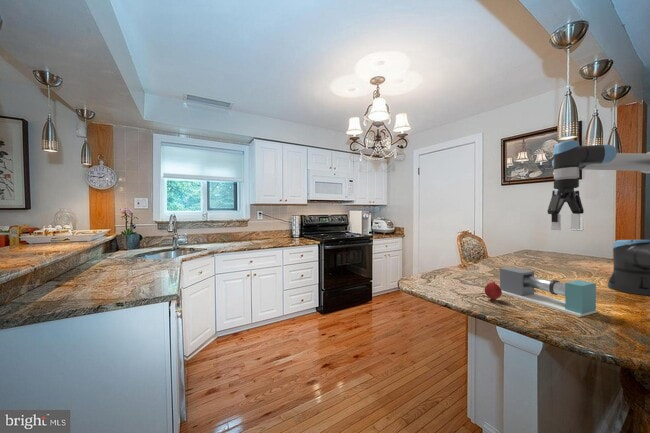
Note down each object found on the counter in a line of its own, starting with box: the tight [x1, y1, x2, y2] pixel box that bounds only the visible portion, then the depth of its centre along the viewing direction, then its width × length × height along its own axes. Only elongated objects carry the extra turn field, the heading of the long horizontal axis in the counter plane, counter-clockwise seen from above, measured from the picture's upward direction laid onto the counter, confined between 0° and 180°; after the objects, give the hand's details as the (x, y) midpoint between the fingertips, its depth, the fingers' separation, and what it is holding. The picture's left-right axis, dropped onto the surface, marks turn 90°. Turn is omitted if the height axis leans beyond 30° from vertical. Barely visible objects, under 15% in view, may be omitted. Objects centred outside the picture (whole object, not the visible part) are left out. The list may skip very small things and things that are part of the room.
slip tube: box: [524, 275, 566, 297], centre depth 95 cm, size 19×6×6 cm, turn 20°
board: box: [501, 290, 599, 318], centre depth 98 cm, size 11×28×1 cm, turn 20°
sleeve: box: [499, 266, 535, 296], centre depth 107 cm, size 8×9×10 cm
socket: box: [564, 279, 597, 314], centre depth 87 cm, size 9×4×10 cm, turn 110°
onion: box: [484, 280, 502, 301], centre depth 100 cm, size 6×6×8 cm
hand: (565, 229), depth 101 cm, fingers open, 13 cm apart
